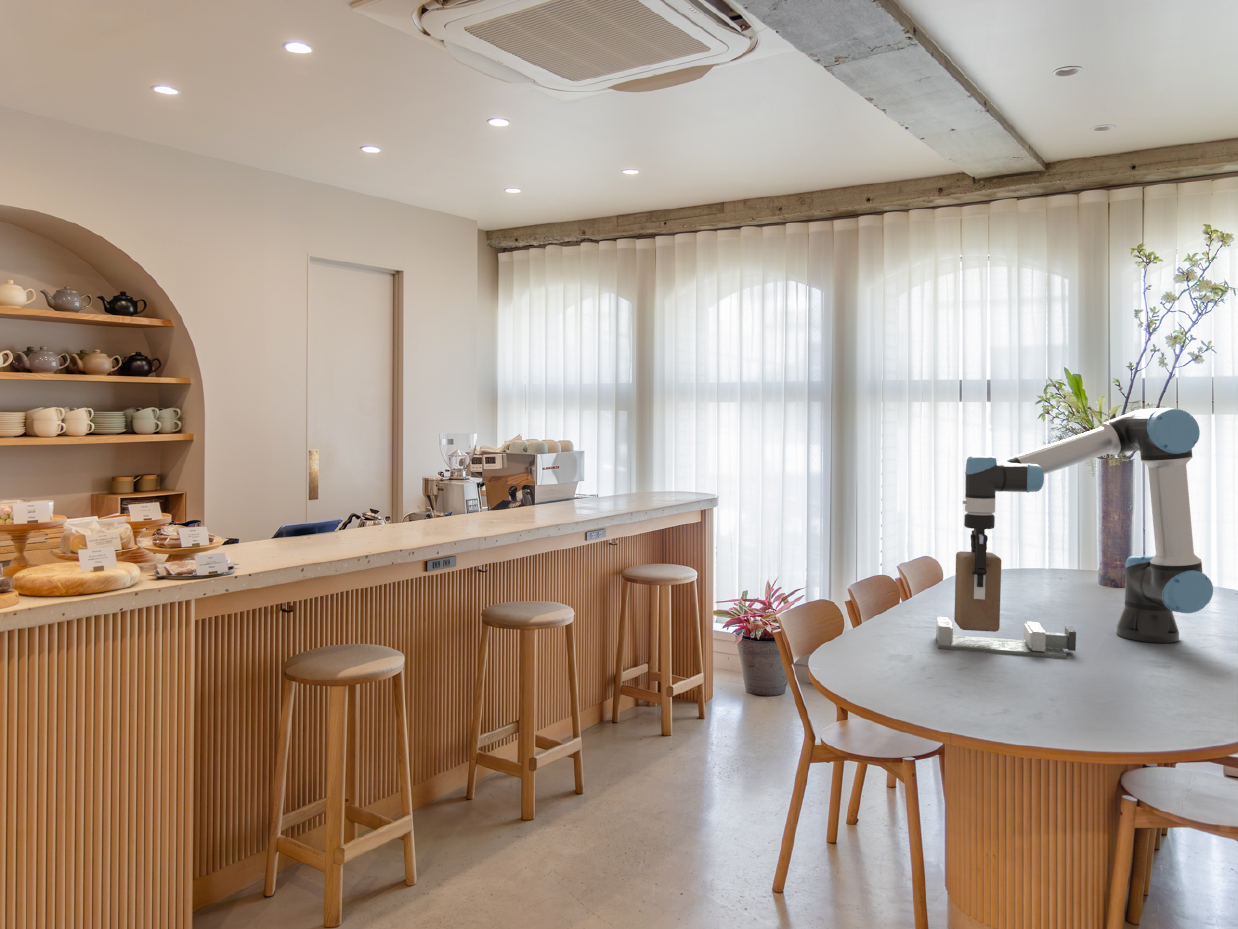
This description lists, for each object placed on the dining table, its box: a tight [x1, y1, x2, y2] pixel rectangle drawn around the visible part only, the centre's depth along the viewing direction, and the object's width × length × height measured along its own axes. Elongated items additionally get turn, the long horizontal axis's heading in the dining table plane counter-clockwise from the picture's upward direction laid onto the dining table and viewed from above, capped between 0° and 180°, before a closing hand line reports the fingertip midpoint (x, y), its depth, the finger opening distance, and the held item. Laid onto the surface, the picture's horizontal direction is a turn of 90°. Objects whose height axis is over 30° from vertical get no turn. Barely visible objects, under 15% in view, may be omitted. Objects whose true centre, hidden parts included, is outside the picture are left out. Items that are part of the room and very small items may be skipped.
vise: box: [935, 616, 1068, 660], centre depth 234 cm, size 31×13×6 cm, turn 72°
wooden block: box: [954, 550, 1002, 633], centre depth 235 cm, size 10×10×20 cm
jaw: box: [1023, 621, 1077, 652], centre depth 230 cm, size 11×12×5 cm
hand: (977, 595), depth 235 cm, fingers closed on wooden block, 10 cm apart
